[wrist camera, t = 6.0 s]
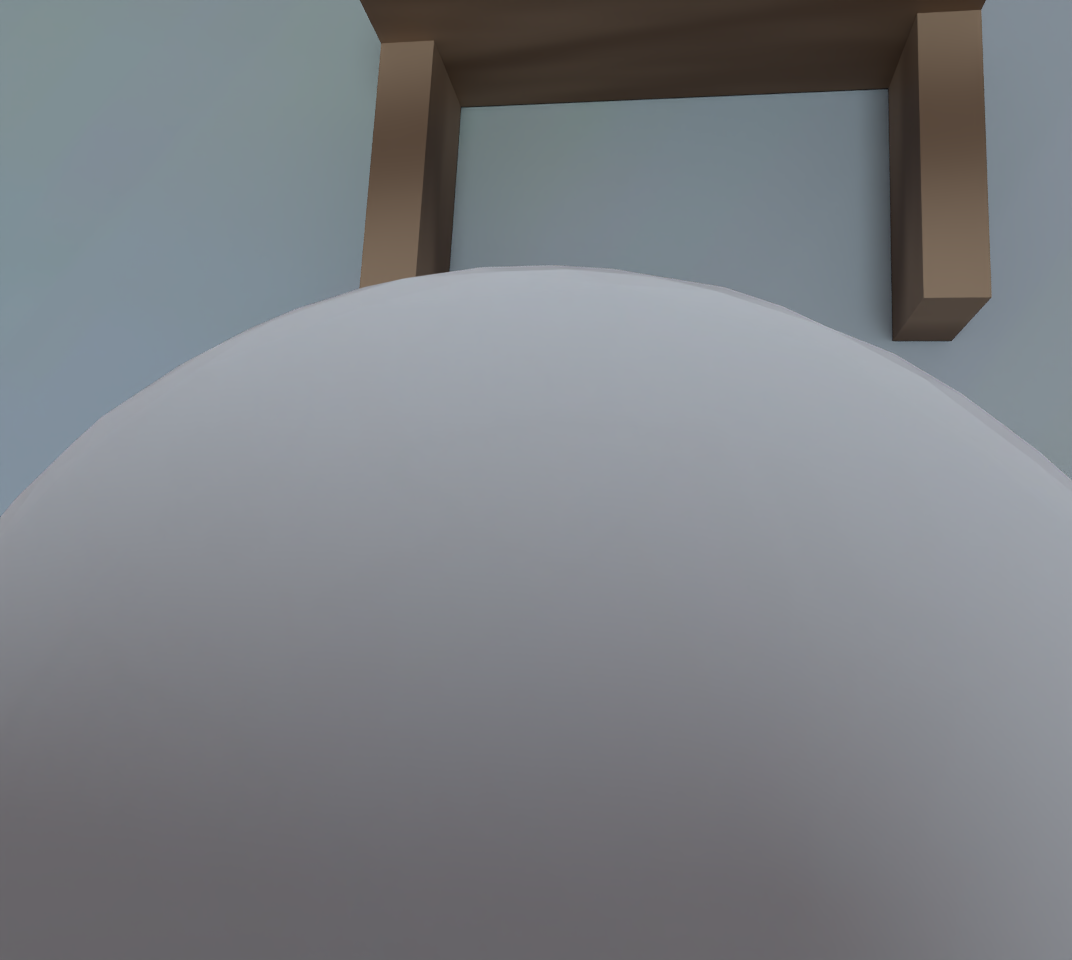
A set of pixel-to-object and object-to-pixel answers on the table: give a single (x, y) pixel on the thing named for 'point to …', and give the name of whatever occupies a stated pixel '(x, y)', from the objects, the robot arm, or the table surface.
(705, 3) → the shelf lane
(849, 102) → the table surface
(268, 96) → the table surface
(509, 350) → the supplement bottle
